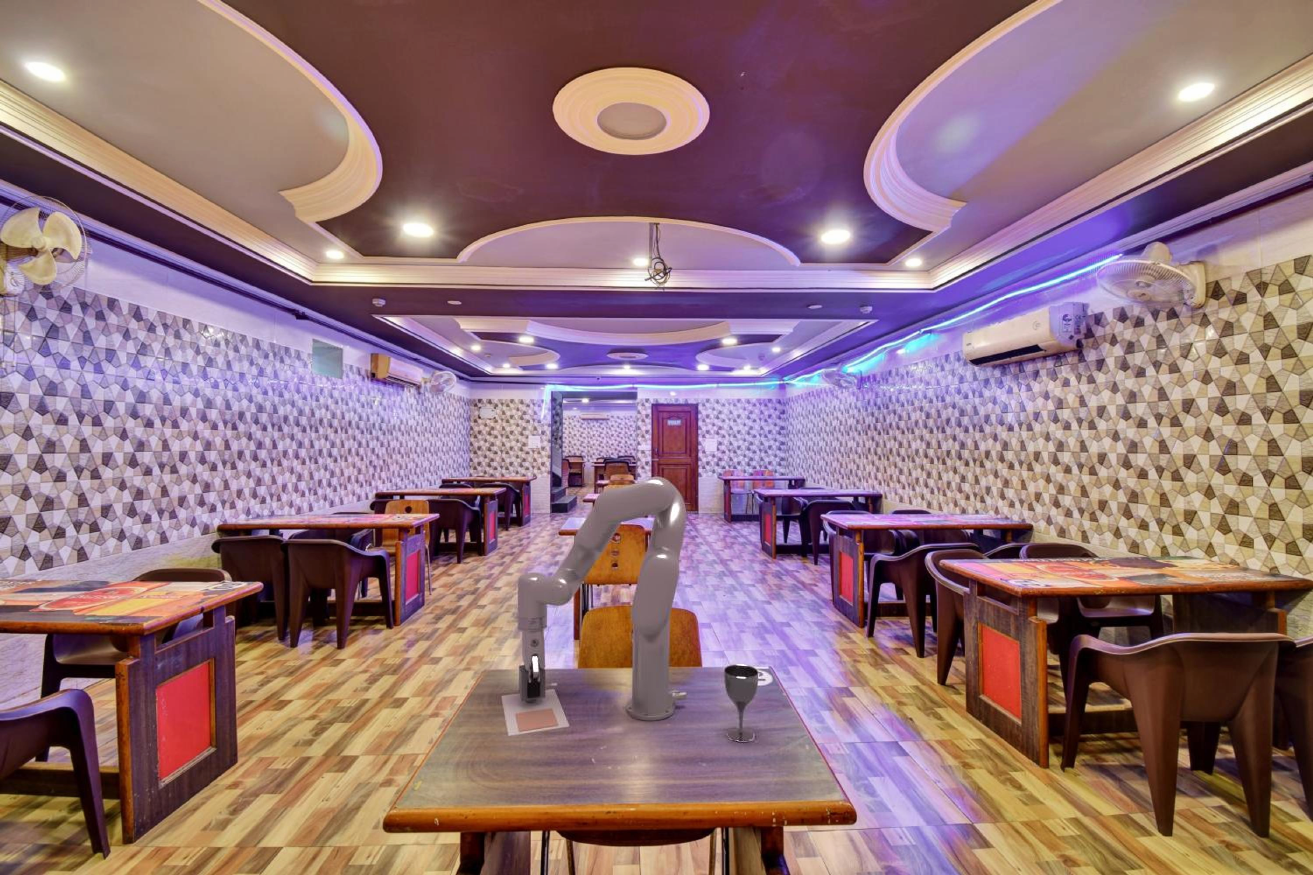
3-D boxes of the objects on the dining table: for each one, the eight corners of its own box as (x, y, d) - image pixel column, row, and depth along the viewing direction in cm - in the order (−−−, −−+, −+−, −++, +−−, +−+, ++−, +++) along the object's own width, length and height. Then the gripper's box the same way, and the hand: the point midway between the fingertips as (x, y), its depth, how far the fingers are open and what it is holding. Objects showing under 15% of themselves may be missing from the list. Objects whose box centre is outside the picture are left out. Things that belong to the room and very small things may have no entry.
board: (554, 694, 152) (554, 687, 152) (569, 732, 131) (569, 724, 131) (501, 701, 147) (501, 694, 147) (508, 742, 127) (508, 734, 127)
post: (535, 697, 146) (536, 676, 147) (537, 702, 144) (537, 680, 144) (524, 699, 145) (524, 677, 146) (525, 704, 143) (525, 682, 143)
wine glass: (764, 734, 131) (764, 670, 132) (745, 747, 125) (745, 680, 126) (736, 723, 137) (736, 661, 137) (717, 735, 131) (717, 670, 131)
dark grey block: (545, 697, 143) (545, 669, 143) (521, 700, 141) (521, 673, 141) (541, 688, 148) (541, 661, 149) (518, 691, 146) (519, 664, 146)
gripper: (552, 630, 138) (551, 703, 138) (542, 611, 154) (541, 677, 154) (521, 633, 136) (520, 708, 135) (514, 614, 152) (514, 680, 151)
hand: (532, 690), depth 145 cm, fingers closed on dark grey block, 5 cm apart
